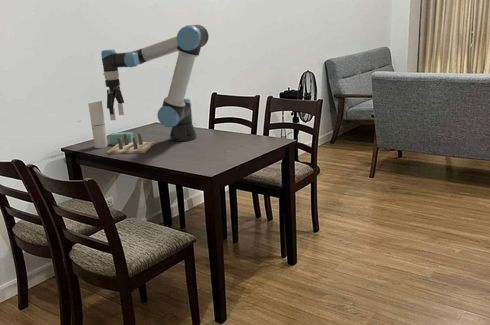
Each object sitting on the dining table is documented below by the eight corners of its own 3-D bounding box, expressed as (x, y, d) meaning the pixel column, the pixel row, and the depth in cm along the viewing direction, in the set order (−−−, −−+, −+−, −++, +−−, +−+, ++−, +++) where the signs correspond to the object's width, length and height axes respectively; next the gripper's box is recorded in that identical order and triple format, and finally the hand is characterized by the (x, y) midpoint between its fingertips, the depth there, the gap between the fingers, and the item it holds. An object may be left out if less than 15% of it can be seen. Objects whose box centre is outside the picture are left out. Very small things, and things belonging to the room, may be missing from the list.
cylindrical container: (104, 148, 267) (97, 102, 260) (92, 148, 269) (85, 103, 262) (110, 144, 274) (104, 100, 267) (98, 144, 276) (92, 100, 268)
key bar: (134, 142, 277) (133, 132, 275) (131, 144, 272) (130, 134, 271) (114, 142, 278) (113, 132, 277) (111, 145, 274) (109, 134, 272)
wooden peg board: (154, 143, 270) (152, 131, 268) (144, 152, 253) (142, 139, 251) (119, 144, 273) (117, 132, 271) (107, 153, 256) (105, 140, 253)
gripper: (113, 76, 277) (118, 113, 283) (96, 82, 253) (102, 122, 259) (126, 75, 276) (131, 112, 282) (110, 81, 252) (116, 122, 258)
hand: (117, 117), depth 271 cm, fingers open, 13 cm apart
